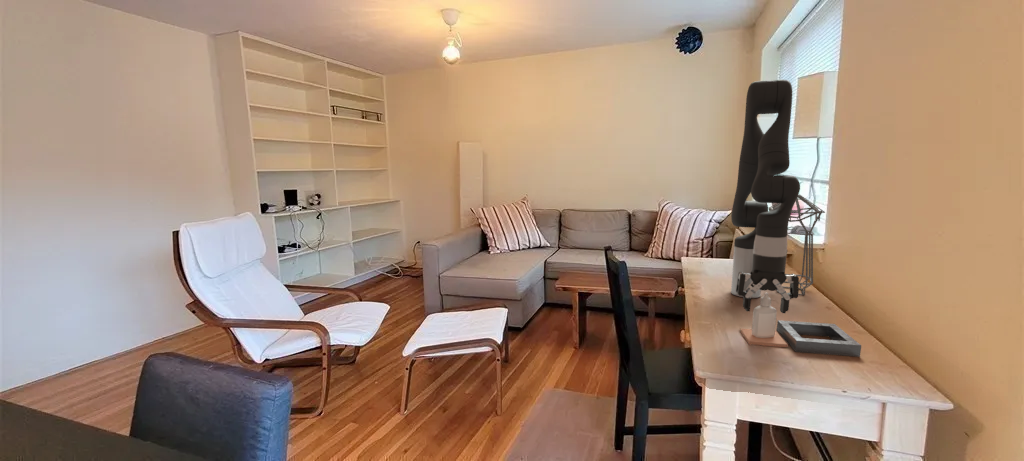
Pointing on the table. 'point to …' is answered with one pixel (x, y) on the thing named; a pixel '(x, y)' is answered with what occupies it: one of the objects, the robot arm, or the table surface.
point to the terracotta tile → (763, 339)
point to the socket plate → (836, 346)
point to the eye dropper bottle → (764, 319)
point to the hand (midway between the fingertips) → (764, 311)
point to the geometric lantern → (805, 238)
